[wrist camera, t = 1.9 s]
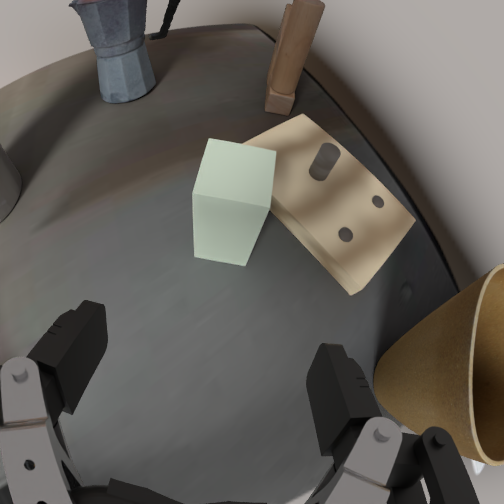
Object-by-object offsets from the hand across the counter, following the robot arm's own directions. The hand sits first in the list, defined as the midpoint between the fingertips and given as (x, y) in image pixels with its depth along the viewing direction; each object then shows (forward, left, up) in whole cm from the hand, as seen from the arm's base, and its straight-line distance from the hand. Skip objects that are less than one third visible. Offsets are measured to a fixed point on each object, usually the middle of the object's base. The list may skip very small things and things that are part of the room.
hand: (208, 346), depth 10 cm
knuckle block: (-8, +9, -16) cm, 20 cm away
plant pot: (+16, +13, -16) cm, 26 cm away
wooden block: (-22, +31, -16) cm, 41 cm away
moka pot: (-37, +14, -16) cm, 42 cm away
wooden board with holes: (-5, +21, -16) cm, 27 cm away
